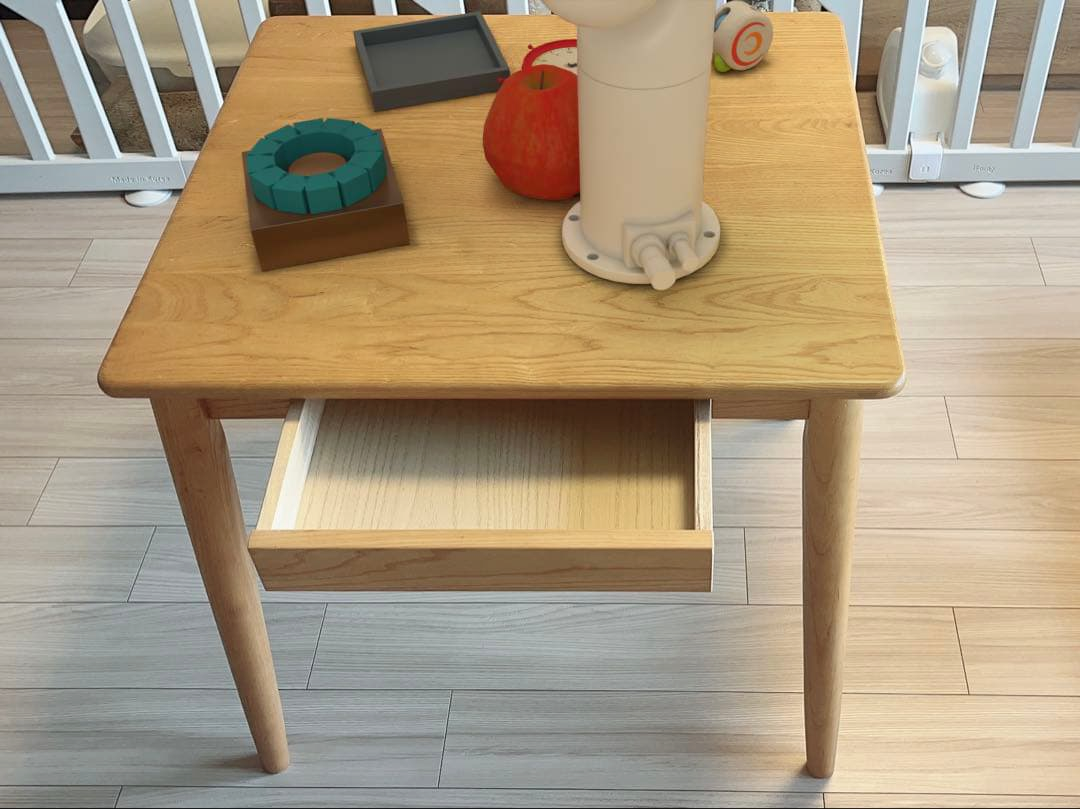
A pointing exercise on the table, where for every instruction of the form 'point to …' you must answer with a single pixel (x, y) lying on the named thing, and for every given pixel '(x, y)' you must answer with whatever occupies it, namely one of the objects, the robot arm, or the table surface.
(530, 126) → the apple
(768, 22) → the roller toy
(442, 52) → the tray
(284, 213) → the platform
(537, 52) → the alarm clock
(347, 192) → the ring
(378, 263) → the table surface
